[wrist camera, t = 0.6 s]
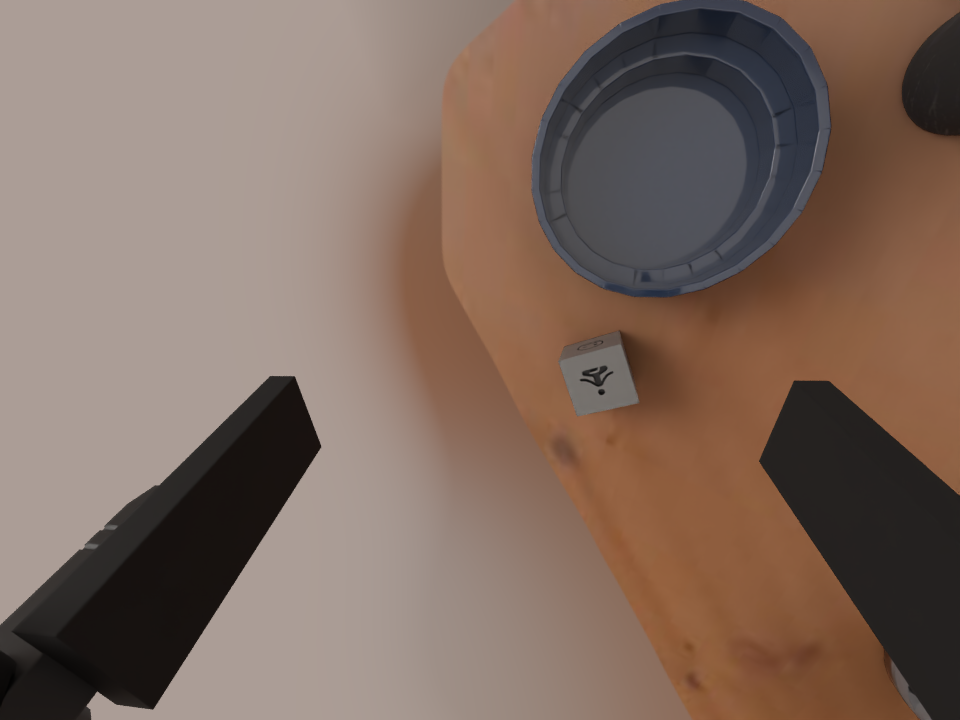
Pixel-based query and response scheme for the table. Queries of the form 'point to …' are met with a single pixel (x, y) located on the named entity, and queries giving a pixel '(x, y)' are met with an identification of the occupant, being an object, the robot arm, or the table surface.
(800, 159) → the blue round bowl
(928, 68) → the travel mug
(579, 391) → the dice cube
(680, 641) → the table surface
